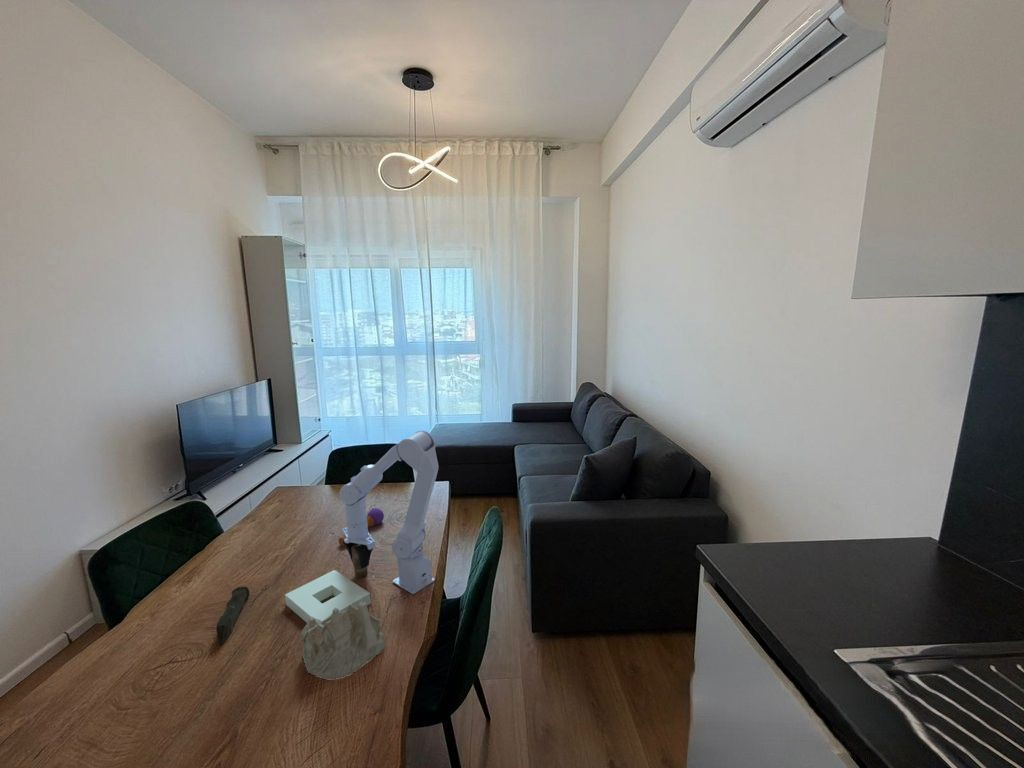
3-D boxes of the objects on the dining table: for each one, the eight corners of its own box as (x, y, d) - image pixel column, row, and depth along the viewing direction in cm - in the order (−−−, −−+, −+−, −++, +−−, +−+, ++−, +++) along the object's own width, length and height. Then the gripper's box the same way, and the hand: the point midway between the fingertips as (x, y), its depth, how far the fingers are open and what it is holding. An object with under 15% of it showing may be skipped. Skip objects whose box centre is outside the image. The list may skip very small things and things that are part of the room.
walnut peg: (371, 573, 127) (369, 545, 126) (358, 580, 124) (356, 551, 123) (363, 568, 130) (361, 541, 128) (351, 575, 127) (348, 547, 125)
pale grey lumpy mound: (394, 648, 98) (385, 587, 96) (321, 696, 86) (309, 628, 84) (363, 619, 109) (354, 565, 107) (295, 659, 97) (284, 598, 95)
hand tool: (234, 600, 117) (231, 585, 116) (250, 597, 118) (248, 582, 117) (206, 651, 99) (203, 633, 98) (226, 646, 100) (223, 629, 99)
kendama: (333, 534, 144) (372, 505, 162) (338, 550, 145) (376, 519, 163) (346, 534, 141) (384, 505, 159) (351, 550, 142) (388, 519, 160)
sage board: (370, 603, 114) (369, 593, 113) (319, 634, 103) (318, 623, 102) (335, 579, 125) (334, 569, 124) (286, 604, 114) (284, 594, 113)
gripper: (330, 519, 126) (334, 561, 128) (358, 533, 117) (362, 579, 119) (352, 510, 131) (356, 551, 133) (380, 523, 122) (383, 567, 124)
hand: (360, 563), depth 126 cm, fingers closed on walnut peg, 4 cm apart
